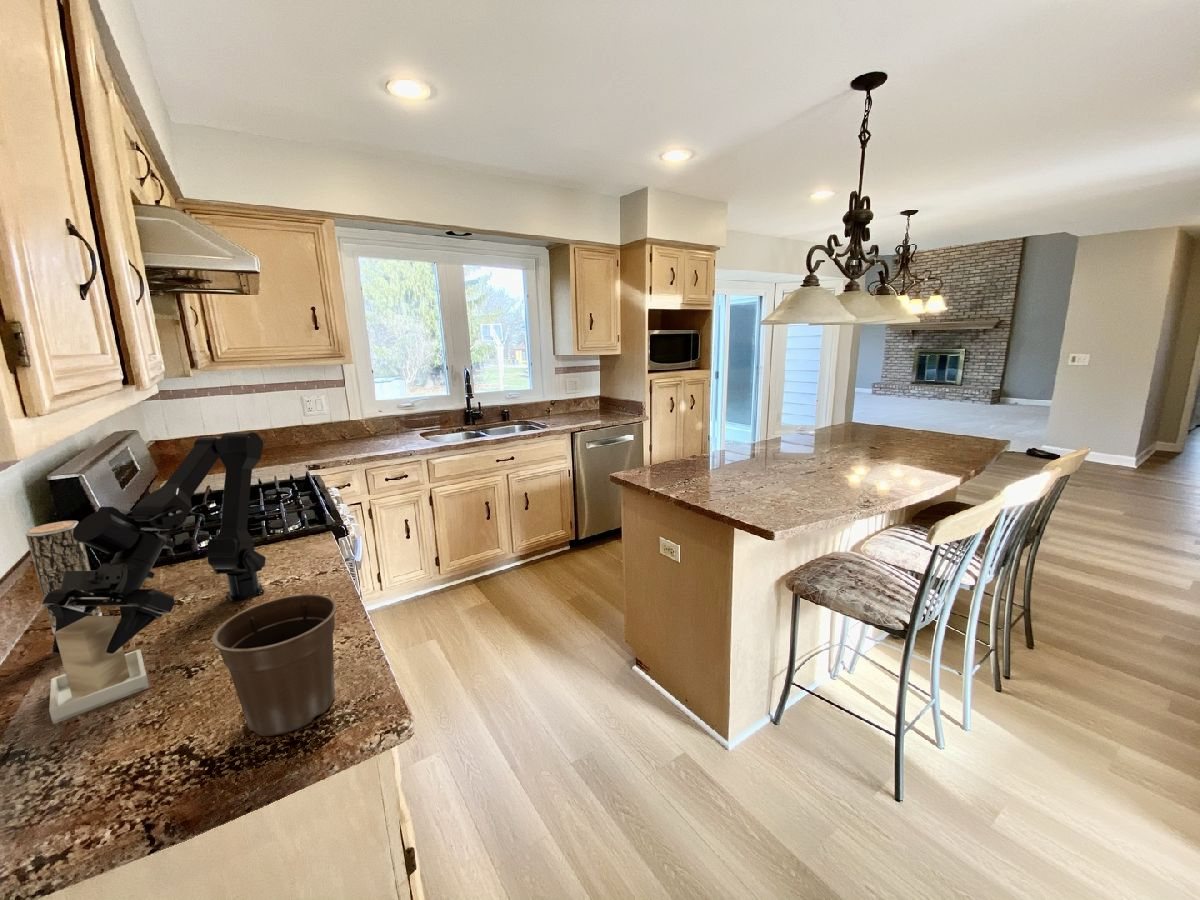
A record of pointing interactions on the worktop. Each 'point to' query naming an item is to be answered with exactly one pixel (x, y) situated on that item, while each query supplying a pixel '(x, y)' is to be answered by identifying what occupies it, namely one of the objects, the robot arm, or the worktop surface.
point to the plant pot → (281, 661)
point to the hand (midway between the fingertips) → (82, 653)
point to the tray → (71, 706)
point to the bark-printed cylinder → (56, 557)
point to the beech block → (91, 655)
